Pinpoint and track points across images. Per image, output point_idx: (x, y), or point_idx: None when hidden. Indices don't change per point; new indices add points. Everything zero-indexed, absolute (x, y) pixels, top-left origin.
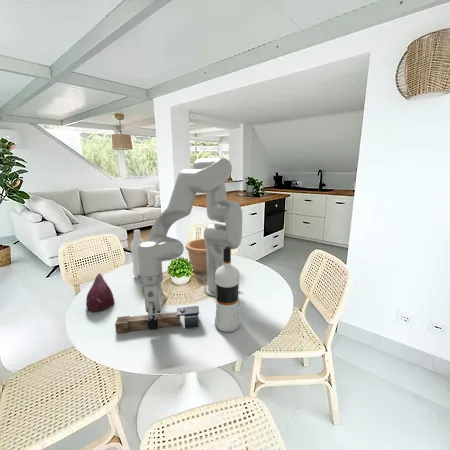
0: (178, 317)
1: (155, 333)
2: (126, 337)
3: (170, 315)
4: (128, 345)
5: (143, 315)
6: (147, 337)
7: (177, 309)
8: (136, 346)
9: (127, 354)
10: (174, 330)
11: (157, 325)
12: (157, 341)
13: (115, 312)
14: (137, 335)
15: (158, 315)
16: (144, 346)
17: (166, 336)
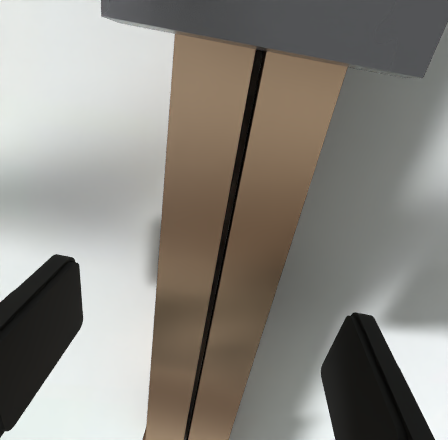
0: None
1: (322, 288)
2: (275, 421)
3: (251, 183)
4: None
5: (148, 425)
6: None
7: (175, 13)
8: None
9: (441, 430)
10: (373, 122)
11: (387, 350)
12: (440, 288)
13: (8, 437)
14: (284, 380)
15: (192, 324)
16: (433, 362)
17: (422, 214)
